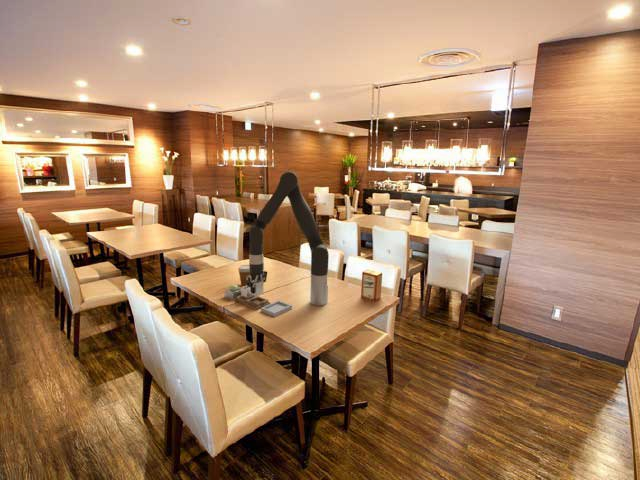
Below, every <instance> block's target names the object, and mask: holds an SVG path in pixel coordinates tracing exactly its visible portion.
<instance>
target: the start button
mask: <svg viewBox="0 0 640 480" xmlns="http://www.w3.org/2000/svg"><path fill="white" fill-rule="evenodd" d="M237 287H238V285H237V284H232V285H231V287H230V288H231V291H237V290H238V288H237Z"/></svg>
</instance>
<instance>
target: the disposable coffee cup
mask: <svg viewBox="0 0 640 480" xmlns="http://www.w3.org/2000/svg"><path fill="white" fill-rule="evenodd" d="M237 270H238V273H239V275H238V276H239V280H240V285H241V287H244V286H247V283H246V278H245V277H246V276H249V275H250V270H249V264H242V265H240V266H238V269H237Z"/></svg>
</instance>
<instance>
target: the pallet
mask: <svg viewBox="0 0 640 480" xmlns="http://www.w3.org/2000/svg"><path fill="white" fill-rule="evenodd" d="M234 302H236V303H239V304H241V305H243V306H246V307H248V308H250V309H253V310H255V311H258V310H261V308H262V307H264V306H266V305H269V304H271V301H269V299H266V298H265V297H261V296H260V295H257V296H256V295H254V297H253V298H250V299H248V300H246V299H243V298H241V295H240V296H238V297H237V299H235V300H234Z"/></svg>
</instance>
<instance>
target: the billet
mask: <svg viewBox="0 0 640 480" xmlns="http://www.w3.org/2000/svg"><path fill="white" fill-rule="evenodd" d="M253 281H254V280H253ZM252 285H253V283H252ZM254 287H255V293H254V294H253V295H256V296H260V295H263V294H264V283H263V281H260V280H257V281H256V283H255V286H254ZM250 293H251V288H250ZM251 294H252V293H251Z"/></svg>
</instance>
